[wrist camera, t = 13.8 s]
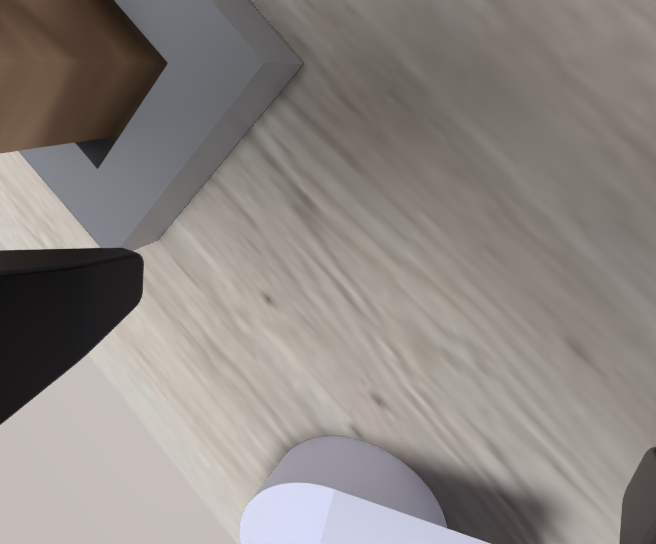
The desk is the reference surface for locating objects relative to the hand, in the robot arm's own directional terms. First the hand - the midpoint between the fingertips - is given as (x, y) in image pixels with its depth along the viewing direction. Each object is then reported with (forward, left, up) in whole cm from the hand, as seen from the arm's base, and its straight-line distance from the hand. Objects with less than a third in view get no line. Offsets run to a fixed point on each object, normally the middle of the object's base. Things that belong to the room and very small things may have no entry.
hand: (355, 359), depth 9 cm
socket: (+15, -2, -12) cm, 19 cm away
